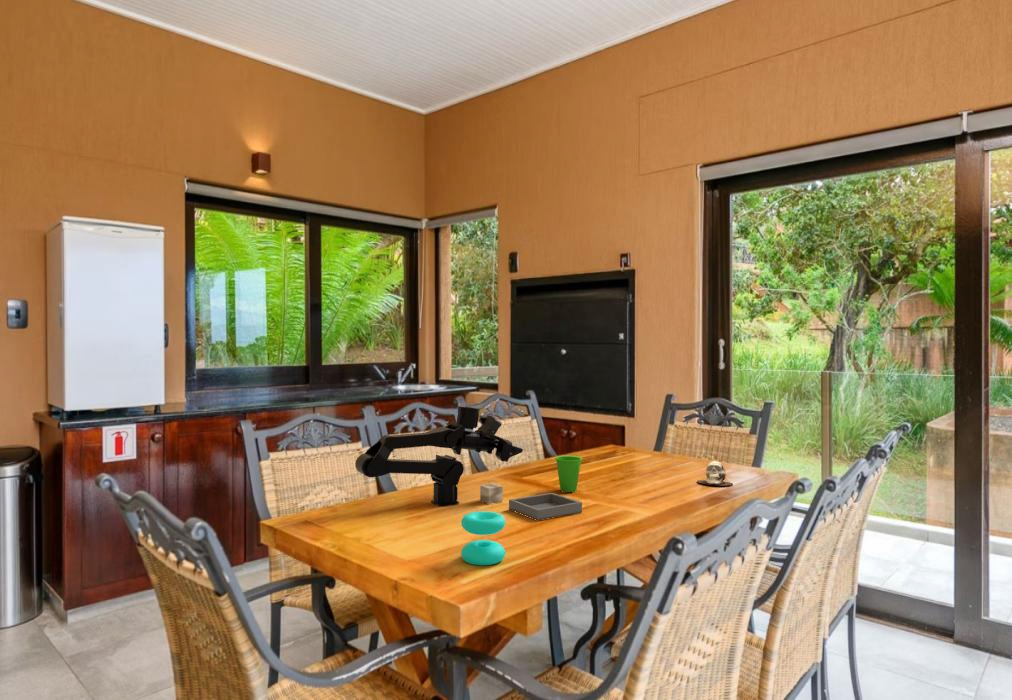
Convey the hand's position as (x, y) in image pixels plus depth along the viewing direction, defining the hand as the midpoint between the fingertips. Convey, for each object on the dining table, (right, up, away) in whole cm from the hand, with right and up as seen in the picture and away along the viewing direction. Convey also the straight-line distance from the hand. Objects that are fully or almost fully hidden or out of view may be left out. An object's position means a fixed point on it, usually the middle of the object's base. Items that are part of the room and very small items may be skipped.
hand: (515, 446), depth 209 cm
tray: (+8, -16, -21) cm, 28 cm away
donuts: (-8, -16, -63) cm, 66 cm away
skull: (+70, -16, +17) cm, 74 cm away
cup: (+18, -16, +4) cm, 24 cm away
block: (-7, -16, -11) cm, 20 cm away
